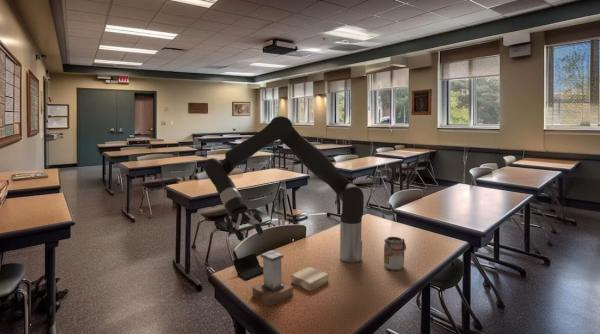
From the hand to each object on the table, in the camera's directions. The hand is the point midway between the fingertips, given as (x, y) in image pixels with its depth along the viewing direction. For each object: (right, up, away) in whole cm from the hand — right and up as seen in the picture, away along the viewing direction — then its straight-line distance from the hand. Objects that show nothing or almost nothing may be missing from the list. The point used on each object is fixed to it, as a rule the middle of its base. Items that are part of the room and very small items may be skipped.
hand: (252, 237), depth 123 cm
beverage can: (+57, -16, +16) cm, 61 cm away
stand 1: (+8, -19, -5) cm, 22 cm away
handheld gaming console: (-2, -17, +13) cm, 22 cm away
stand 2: (+21, -18, +4) cm, 28 cm away
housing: (+8, -16, -6) cm, 19 cm away
